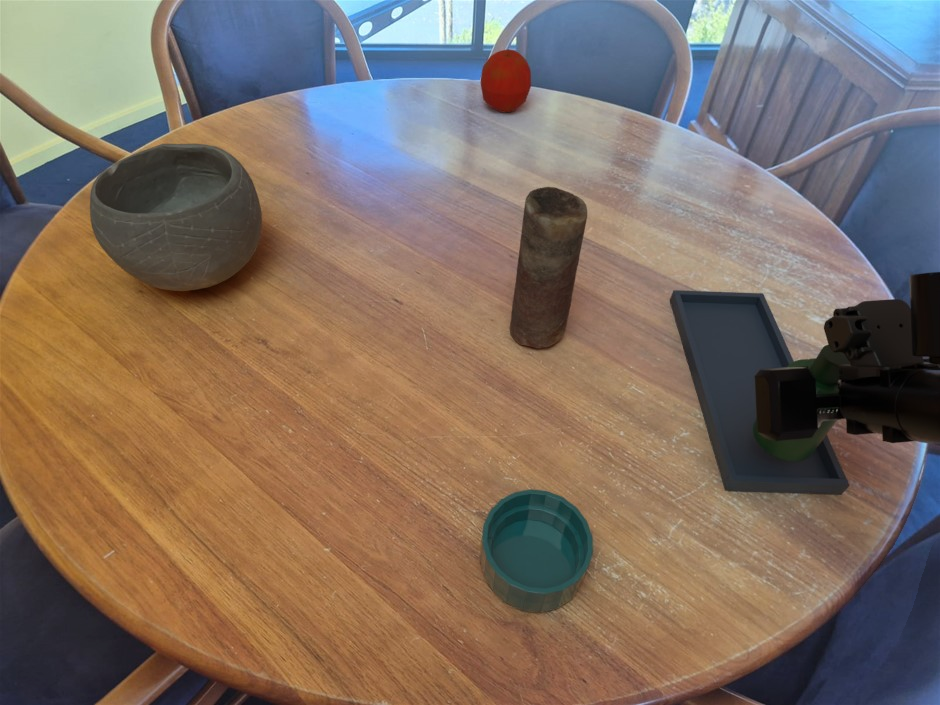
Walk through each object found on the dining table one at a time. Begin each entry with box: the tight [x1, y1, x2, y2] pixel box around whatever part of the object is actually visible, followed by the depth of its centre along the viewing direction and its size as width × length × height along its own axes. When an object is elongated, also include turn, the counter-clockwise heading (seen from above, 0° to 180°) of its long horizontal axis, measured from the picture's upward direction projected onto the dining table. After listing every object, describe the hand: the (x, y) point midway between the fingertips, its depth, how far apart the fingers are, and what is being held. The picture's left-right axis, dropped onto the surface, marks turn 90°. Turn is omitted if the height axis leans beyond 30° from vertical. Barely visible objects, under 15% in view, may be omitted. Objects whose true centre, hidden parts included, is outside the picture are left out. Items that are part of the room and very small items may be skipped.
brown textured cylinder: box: [509, 186, 588, 349], centre depth 76 cm, size 8×7×20 cm
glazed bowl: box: [479, 488, 594, 613], centre depth 59 cm, size 10×10×5 cm
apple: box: [480, 48, 532, 113], centre depth 123 cm, size 10×10×12 cm
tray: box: [669, 289, 851, 496], centre depth 77 cm, size 31×13×2 cm, turn 179°
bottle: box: [753, 344, 850, 461], centre depth 63 cm, size 6×6×13 cm
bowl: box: [89, 143, 263, 292], centre depth 85 cm, size 21×21×15 cm
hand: (801, 389), depth 64 cm, fingers closed on bottle, 6 cm apart
